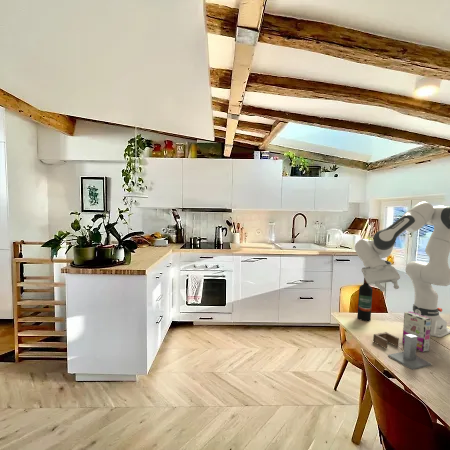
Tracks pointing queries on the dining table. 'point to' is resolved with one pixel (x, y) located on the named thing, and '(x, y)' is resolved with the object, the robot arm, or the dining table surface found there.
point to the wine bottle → (365, 302)
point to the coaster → (410, 364)
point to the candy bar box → (418, 329)
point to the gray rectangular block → (410, 347)
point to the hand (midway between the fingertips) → (390, 289)
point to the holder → (385, 339)
